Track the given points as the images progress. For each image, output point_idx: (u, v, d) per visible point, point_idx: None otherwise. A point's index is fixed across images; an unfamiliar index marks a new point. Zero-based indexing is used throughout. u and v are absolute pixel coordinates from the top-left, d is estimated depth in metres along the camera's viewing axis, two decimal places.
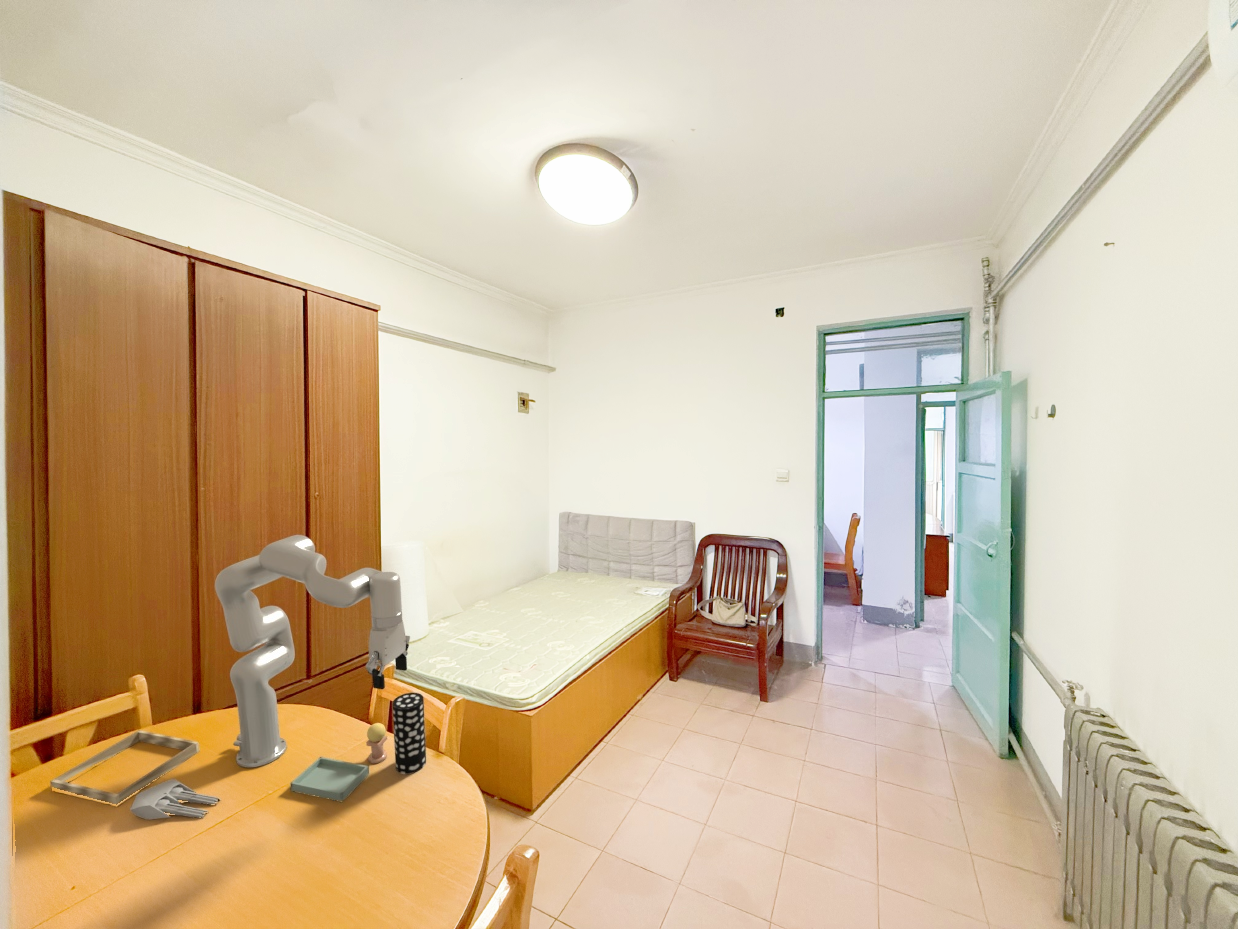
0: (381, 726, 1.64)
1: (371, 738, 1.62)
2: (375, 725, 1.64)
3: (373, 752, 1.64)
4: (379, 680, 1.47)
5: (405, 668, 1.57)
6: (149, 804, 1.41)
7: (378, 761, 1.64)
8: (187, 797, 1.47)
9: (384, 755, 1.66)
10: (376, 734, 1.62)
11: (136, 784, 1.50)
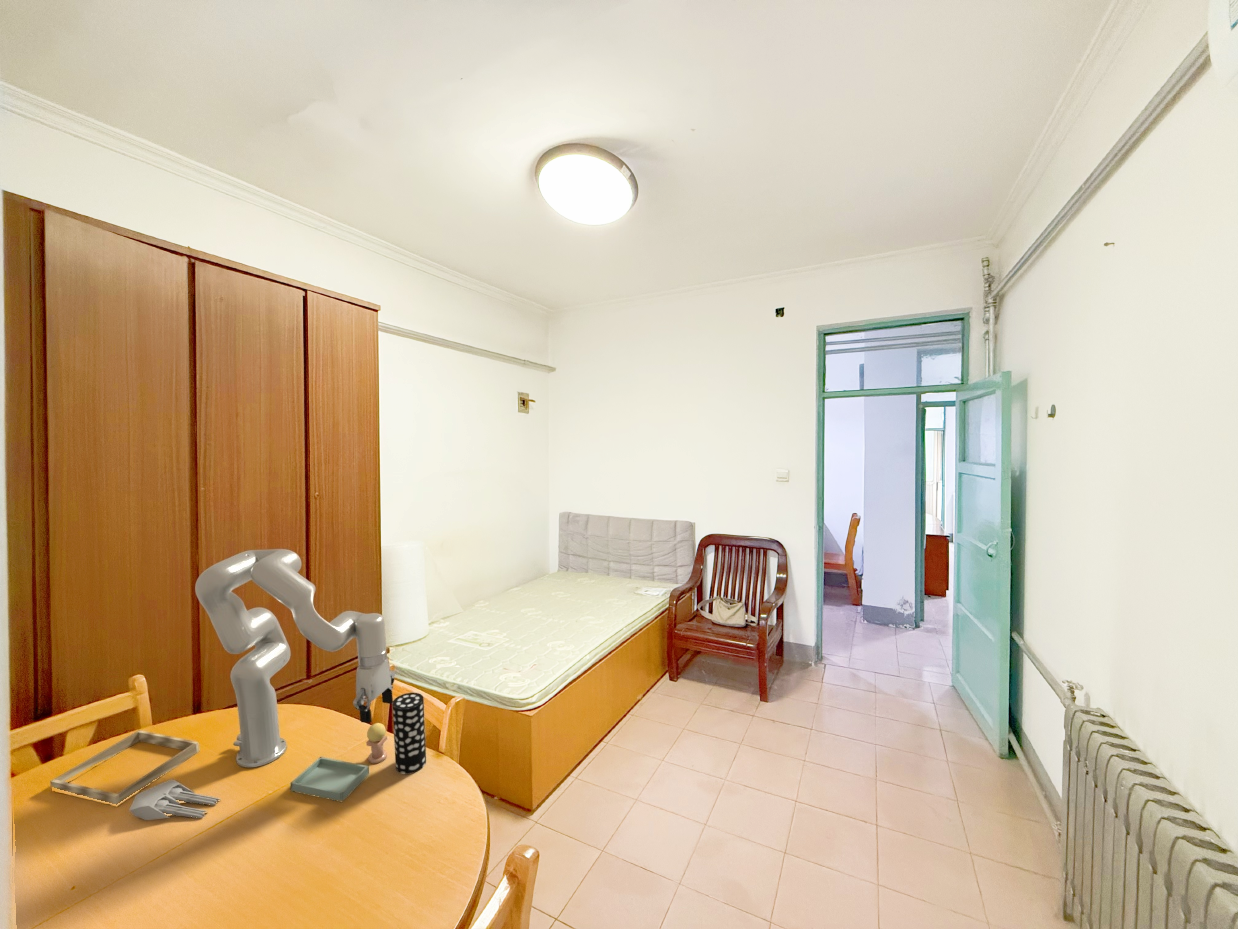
0: (381, 726, 1.64)
1: (371, 738, 1.62)
2: (375, 725, 1.64)
3: (373, 752, 1.64)
4: (366, 715, 1.58)
5: (391, 701, 1.68)
6: (148, 805, 1.41)
7: (378, 761, 1.64)
8: (186, 797, 1.47)
9: (384, 755, 1.66)
10: (376, 734, 1.62)
11: (136, 784, 1.50)
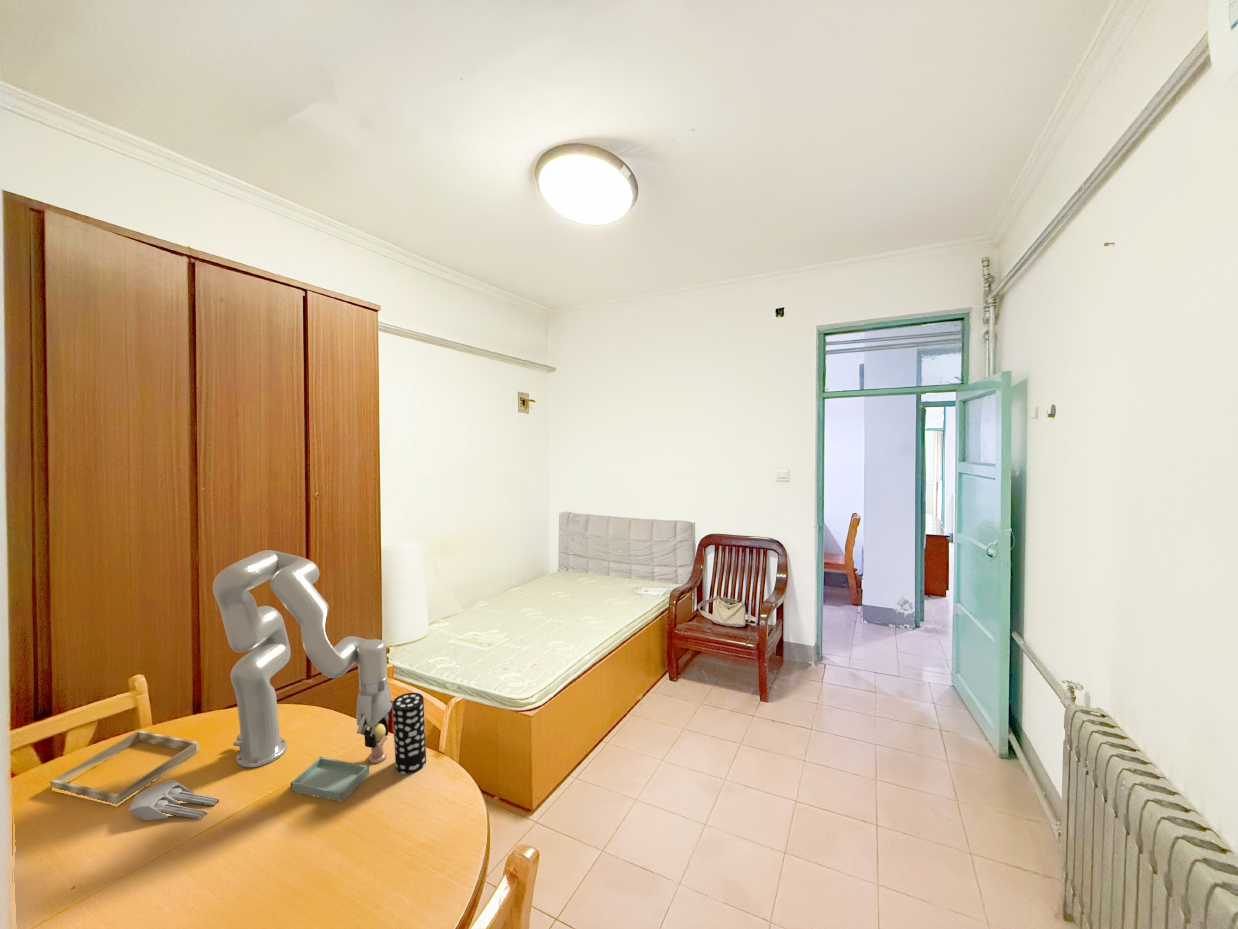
0: (381, 726, 1.64)
1: None
2: (375, 725, 1.64)
3: (373, 752, 1.64)
4: (371, 740, 1.61)
5: (386, 733, 1.67)
6: (148, 805, 1.41)
7: (378, 761, 1.64)
8: (186, 798, 1.47)
9: (384, 755, 1.66)
10: (376, 734, 1.62)
11: (136, 784, 1.50)
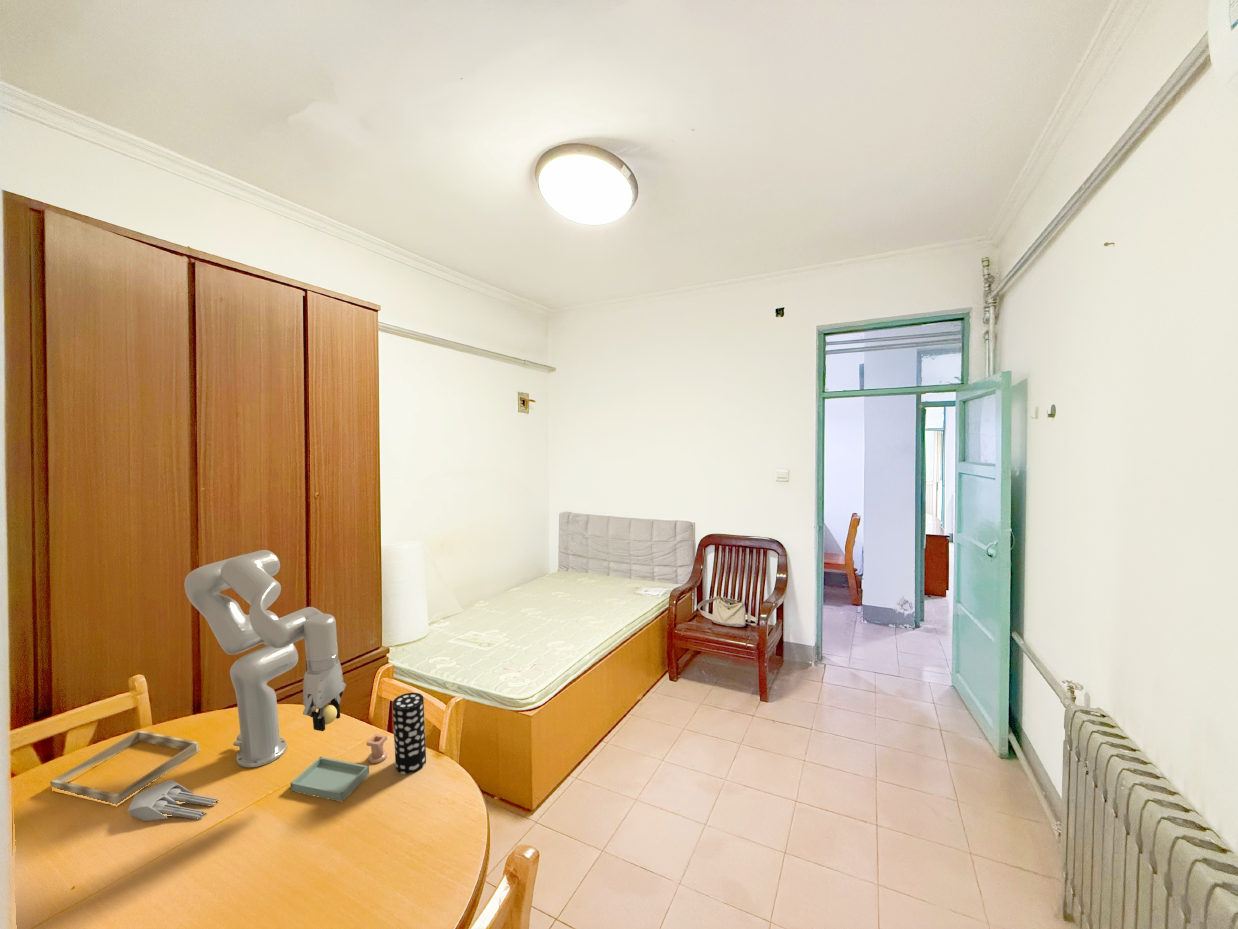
0: (332, 708, 1.52)
1: None
2: (325, 707, 1.52)
3: (373, 752, 1.64)
4: (319, 722, 1.49)
5: (338, 716, 1.55)
6: (147, 805, 1.41)
7: (378, 761, 1.64)
8: (185, 798, 1.46)
9: (384, 755, 1.66)
10: (326, 716, 1.50)
11: (136, 784, 1.50)
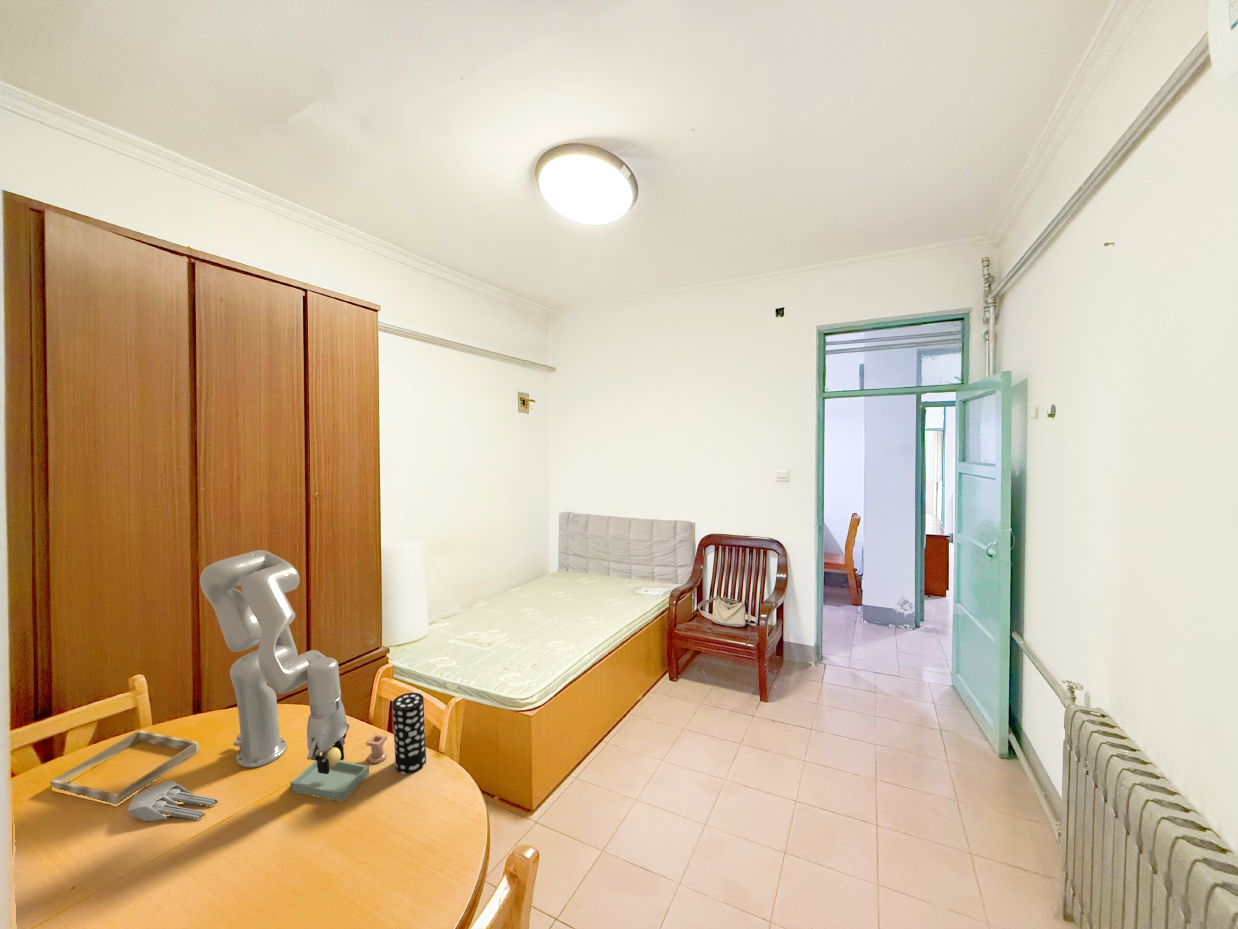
0: (336, 750, 1.54)
1: None
2: (329, 749, 1.54)
3: (373, 752, 1.64)
4: (323, 765, 1.51)
5: (342, 758, 1.57)
6: (146, 805, 1.41)
7: (378, 761, 1.64)
8: (184, 798, 1.46)
9: (384, 755, 1.66)
10: (330, 759, 1.52)
11: (136, 784, 1.50)
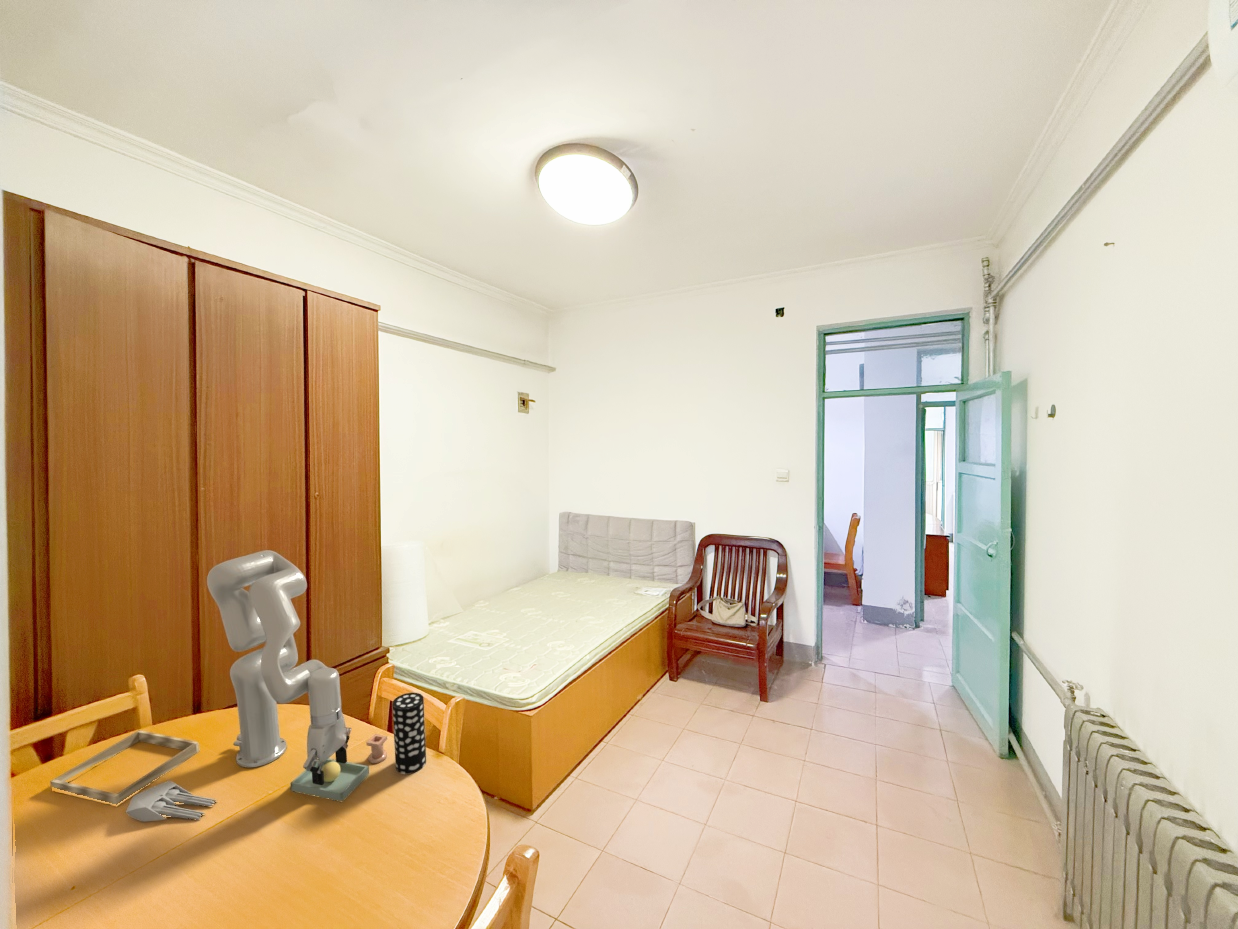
0: (335, 765, 1.55)
1: (324, 778, 1.53)
2: (329, 764, 1.54)
3: (373, 752, 1.64)
4: (318, 777, 1.50)
5: (345, 761, 1.59)
6: (145, 806, 1.41)
7: (378, 761, 1.64)
8: (183, 799, 1.46)
9: (384, 755, 1.66)
10: (329, 774, 1.53)
11: (136, 784, 1.50)
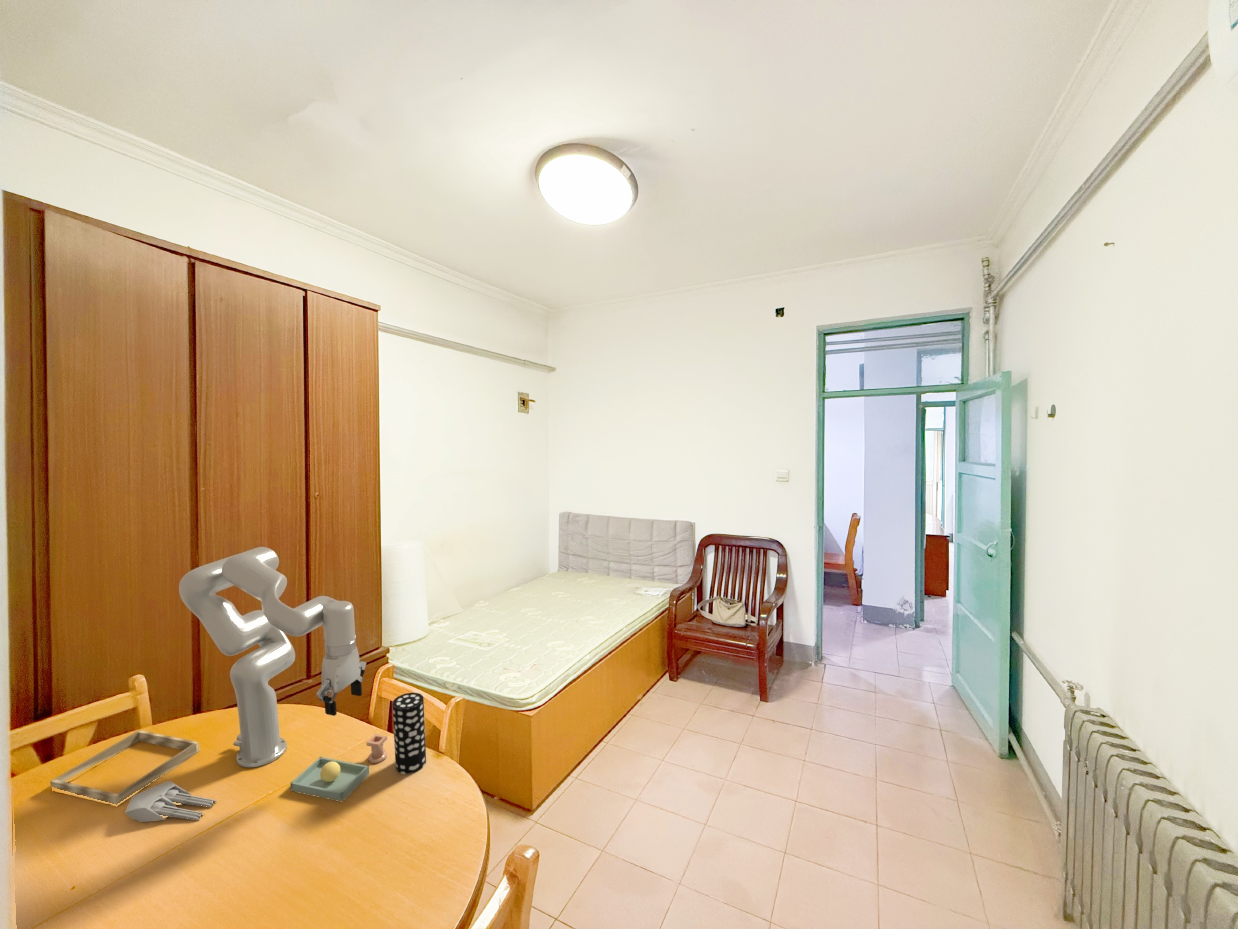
0: (335, 765, 1.55)
1: (324, 779, 1.53)
2: (329, 764, 1.54)
3: (373, 752, 1.64)
4: (331, 707, 1.51)
5: (360, 694, 1.61)
6: (144, 806, 1.41)
7: (378, 761, 1.64)
8: (183, 799, 1.46)
9: (384, 755, 1.66)
10: (329, 775, 1.53)
11: (136, 784, 1.50)
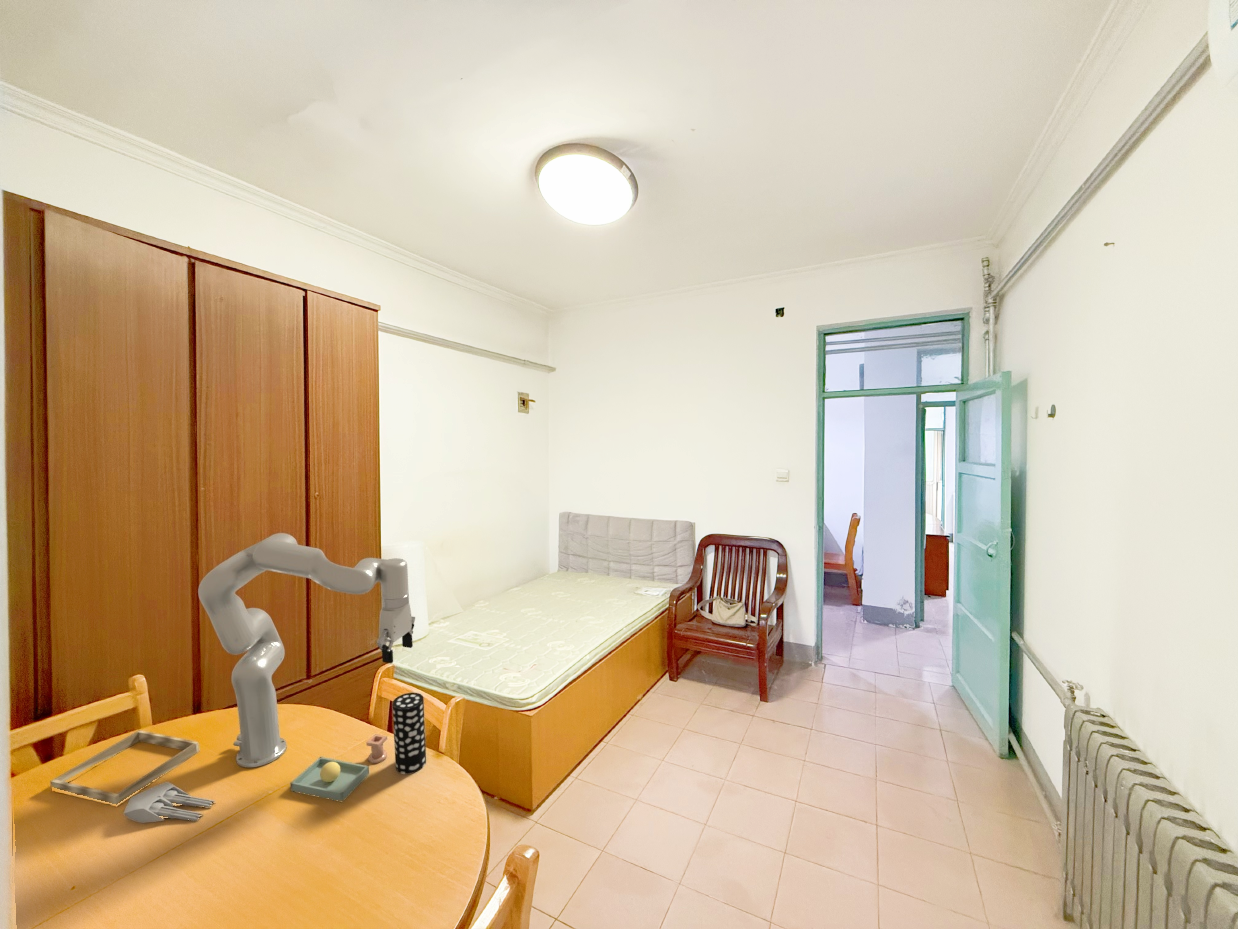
0: (335, 766, 1.55)
1: (324, 779, 1.53)
2: (329, 765, 1.54)
3: (373, 752, 1.64)
4: (388, 655, 1.64)
5: (411, 645, 1.74)
6: (143, 807, 1.40)
7: (378, 761, 1.64)
8: (181, 800, 1.46)
9: (384, 755, 1.66)
10: (329, 775, 1.53)
11: (136, 784, 1.50)
